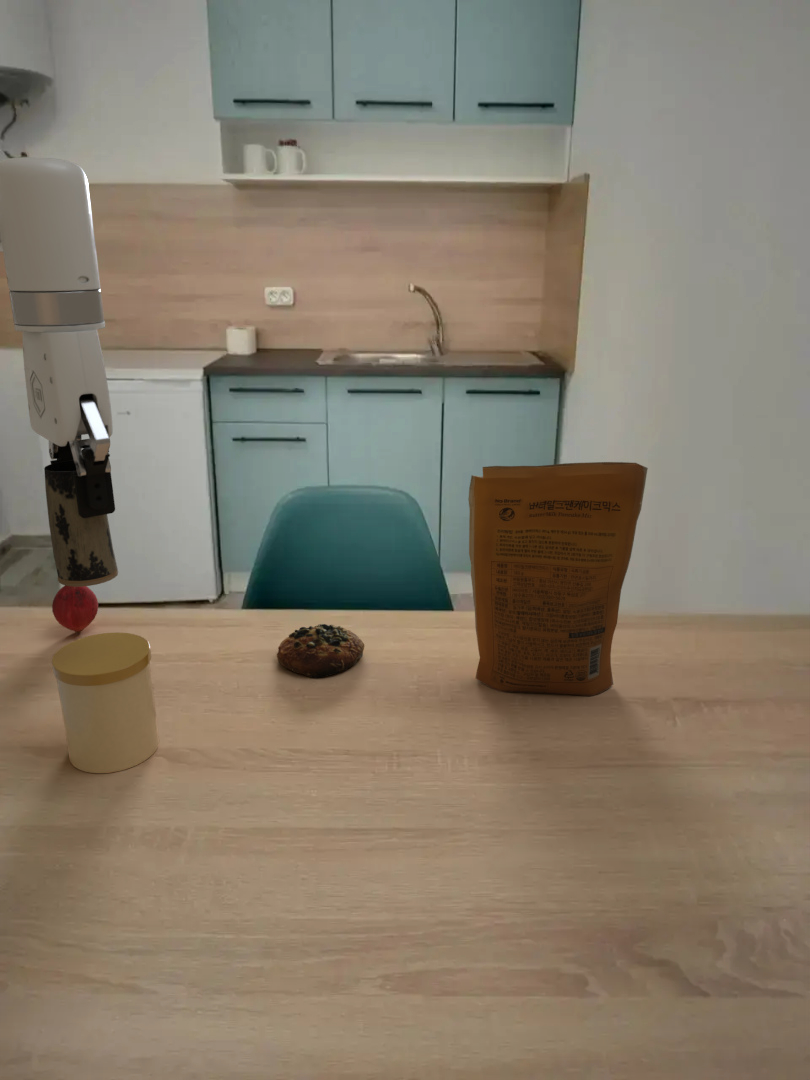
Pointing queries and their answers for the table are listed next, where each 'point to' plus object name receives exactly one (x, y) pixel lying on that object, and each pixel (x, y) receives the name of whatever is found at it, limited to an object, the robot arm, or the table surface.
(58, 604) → the onion
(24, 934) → the table surface
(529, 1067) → the table surface
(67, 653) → the jar
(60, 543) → the mug
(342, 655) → the bread roll
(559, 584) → the pancake mix bag
